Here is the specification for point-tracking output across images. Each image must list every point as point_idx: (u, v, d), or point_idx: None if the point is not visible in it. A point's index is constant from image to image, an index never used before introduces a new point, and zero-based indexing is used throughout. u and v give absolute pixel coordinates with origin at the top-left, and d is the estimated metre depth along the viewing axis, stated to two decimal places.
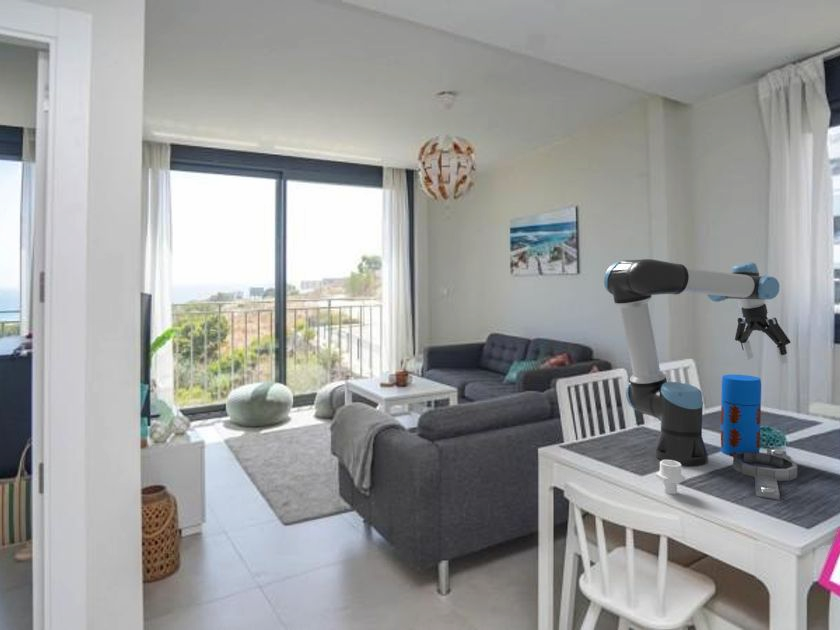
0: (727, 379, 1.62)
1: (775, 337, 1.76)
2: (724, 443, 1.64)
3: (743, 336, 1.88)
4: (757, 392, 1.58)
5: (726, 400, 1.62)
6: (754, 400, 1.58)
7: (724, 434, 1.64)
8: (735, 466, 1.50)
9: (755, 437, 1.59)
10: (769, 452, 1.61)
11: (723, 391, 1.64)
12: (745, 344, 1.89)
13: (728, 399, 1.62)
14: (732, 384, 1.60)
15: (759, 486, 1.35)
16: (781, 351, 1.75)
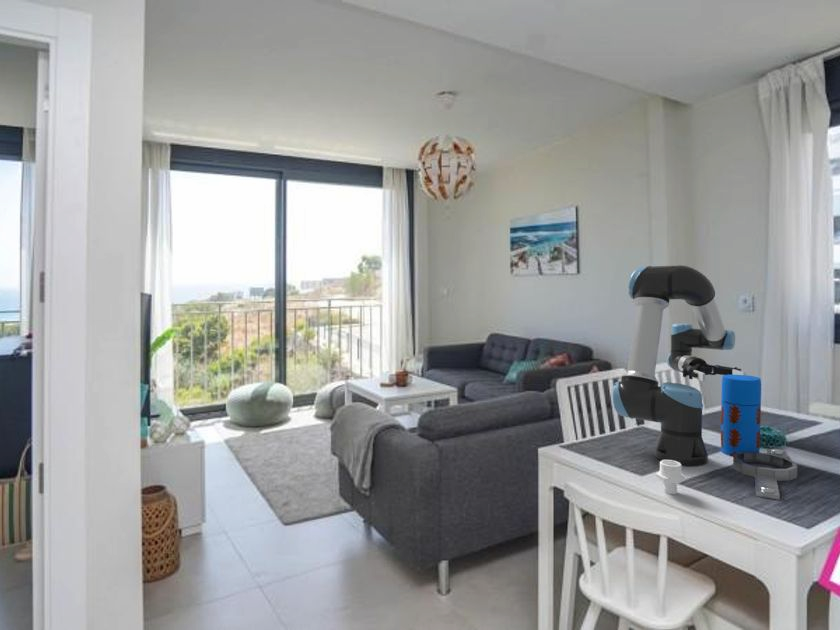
0: (727, 379, 1.62)
1: None
2: (724, 443, 1.64)
3: (692, 369, 1.82)
4: (757, 392, 1.58)
5: (726, 400, 1.62)
6: (754, 400, 1.58)
7: (724, 434, 1.64)
8: (735, 466, 1.50)
9: (755, 437, 1.59)
10: (769, 452, 1.61)
11: (723, 391, 1.64)
12: None
13: (728, 399, 1.62)
14: (732, 384, 1.60)
15: (759, 486, 1.35)
16: None
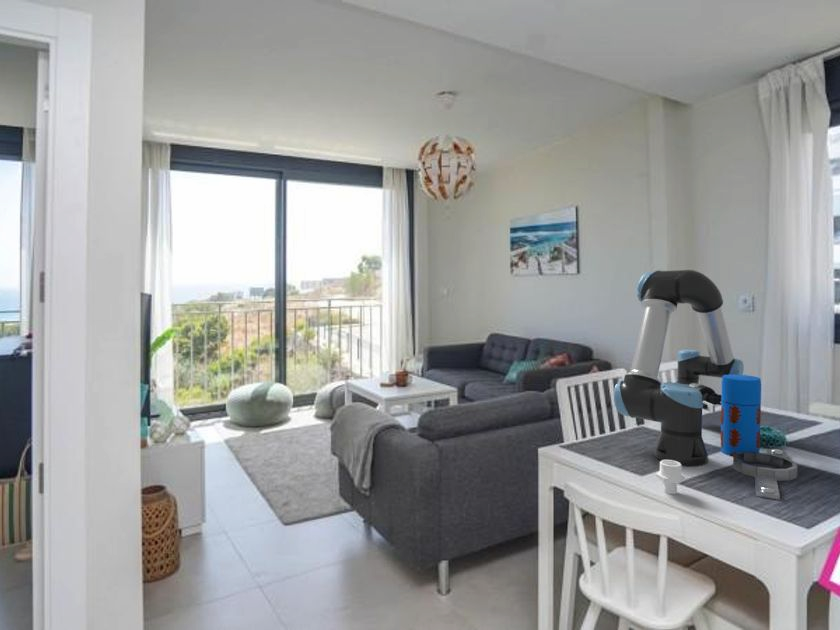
0: (727, 379, 1.62)
1: None
2: (724, 443, 1.64)
3: (701, 399, 1.77)
4: (757, 392, 1.58)
5: (726, 400, 1.62)
6: (754, 400, 1.58)
7: (724, 434, 1.64)
8: (735, 466, 1.50)
9: (755, 437, 1.59)
10: (769, 452, 1.61)
11: (723, 391, 1.64)
12: None
13: (728, 399, 1.62)
14: (732, 384, 1.60)
15: (759, 486, 1.35)
16: None
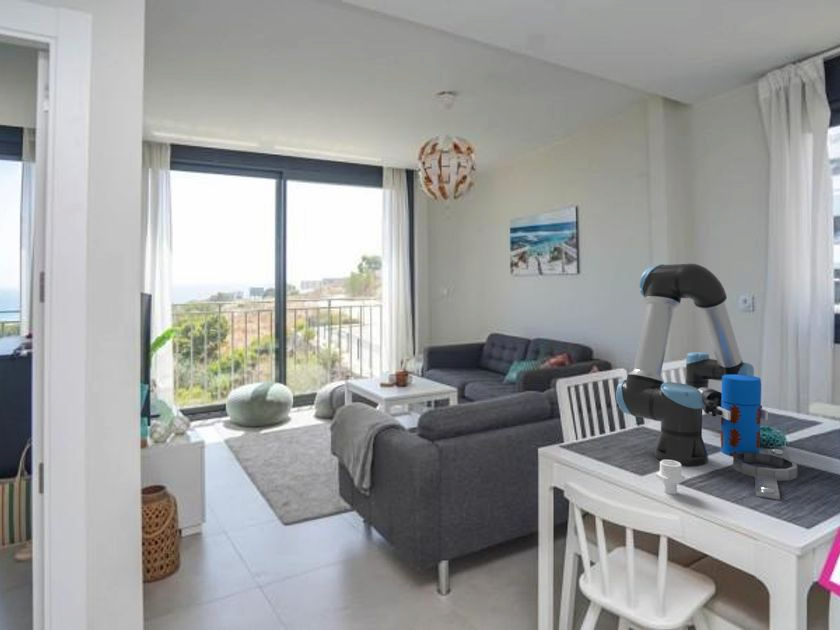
0: (727, 379, 1.62)
1: None
2: (724, 443, 1.64)
3: (714, 404, 1.69)
4: (757, 392, 1.58)
5: (726, 400, 1.62)
6: (754, 400, 1.58)
7: (724, 434, 1.64)
8: (735, 466, 1.50)
9: (755, 437, 1.59)
10: (769, 452, 1.61)
11: (723, 391, 1.64)
12: None
13: (728, 399, 1.62)
14: (732, 384, 1.60)
15: (759, 486, 1.35)
16: None
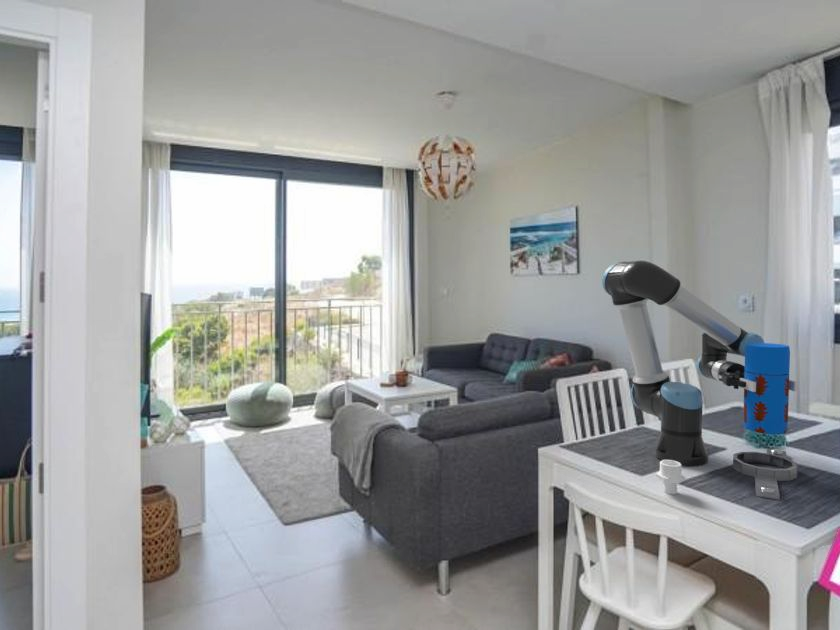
0: (752, 347, 1.46)
1: None
2: (748, 418, 1.48)
3: (736, 376, 1.53)
4: (786, 360, 1.43)
5: (751, 370, 1.47)
6: (782, 369, 1.42)
7: (748, 408, 1.48)
8: (735, 466, 1.50)
9: (783, 410, 1.43)
10: (769, 452, 1.61)
11: (747, 360, 1.48)
12: None
13: (753, 369, 1.46)
14: (758, 351, 1.44)
15: (759, 486, 1.35)
16: None
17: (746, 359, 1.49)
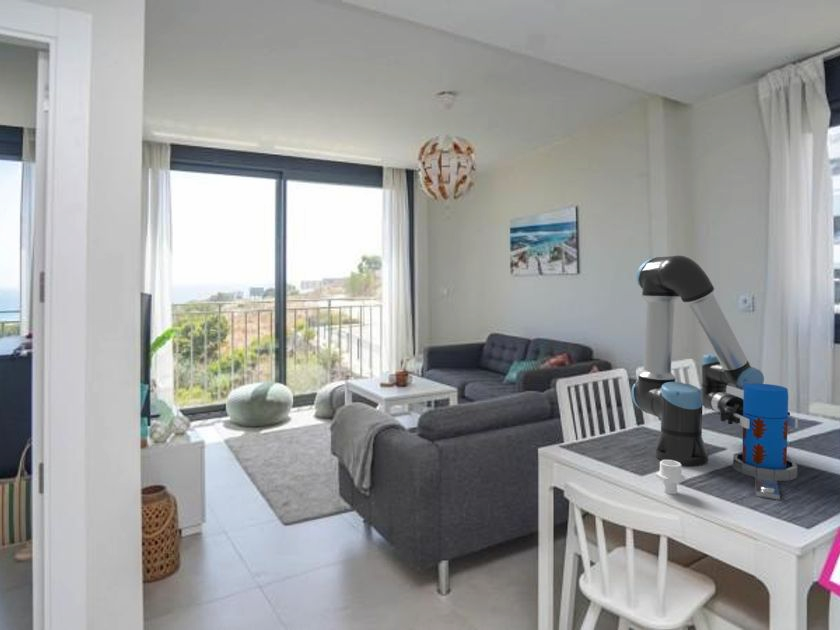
0: (750, 389, 1.47)
1: None
2: (747, 459, 1.49)
3: (732, 411, 1.55)
4: (784, 404, 1.43)
5: (749, 412, 1.47)
6: (781, 412, 1.43)
7: (747, 449, 1.49)
8: (735, 466, 1.50)
9: (782, 453, 1.44)
10: None
11: (746, 402, 1.49)
12: None
13: (751, 411, 1.47)
14: (756, 394, 1.45)
15: (759, 486, 1.35)
16: (788, 416, 1.50)
17: (745, 401, 1.49)
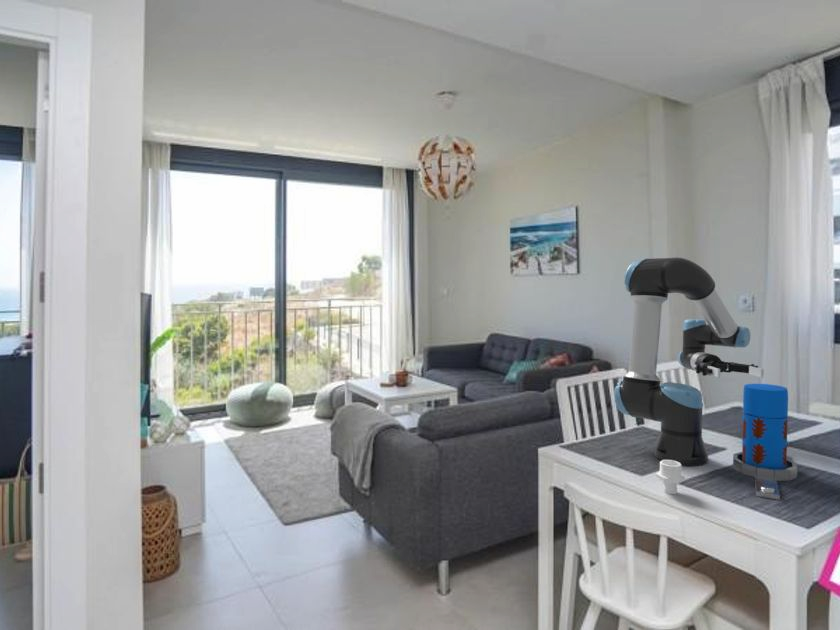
0: (750, 389, 1.47)
1: None
2: (747, 459, 1.49)
3: (706, 365, 1.72)
4: (784, 404, 1.43)
5: (749, 412, 1.47)
6: (780, 412, 1.43)
7: (747, 449, 1.49)
8: (735, 466, 1.50)
9: (781, 453, 1.44)
10: None
11: (745, 402, 1.49)
12: None
13: (751, 411, 1.47)
14: (756, 394, 1.45)
15: (759, 486, 1.35)
16: None
17: (744, 401, 1.49)
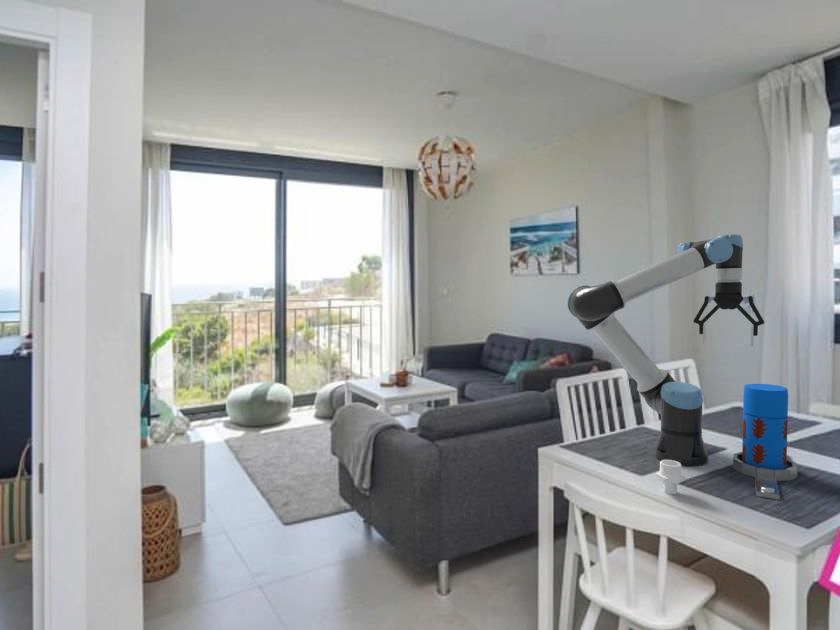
0: (750, 389, 1.47)
1: (750, 316, 1.65)
2: (747, 459, 1.49)
3: (707, 317, 1.71)
4: (784, 404, 1.43)
5: (749, 412, 1.47)
6: (781, 412, 1.43)
7: (747, 449, 1.49)
8: (735, 466, 1.50)
9: (782, 453, 1.44)
10: None
11: (745, 402, 1.49)
12: (705, 326, 1.72)
13: (751, 411, 1.47)
14: (756, 394, 1.45)
15: (759, 486, 1.35)
16: (755, 331, 1.64)
17: (744, 401, 1.49)
